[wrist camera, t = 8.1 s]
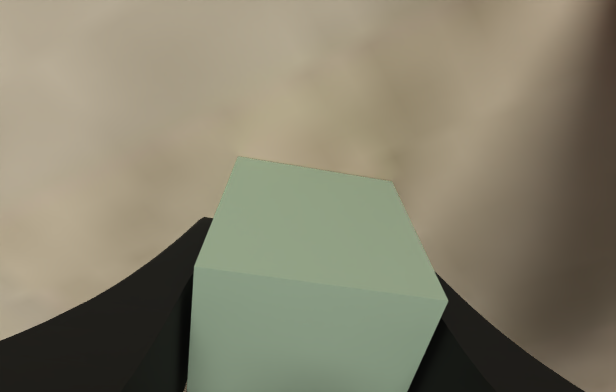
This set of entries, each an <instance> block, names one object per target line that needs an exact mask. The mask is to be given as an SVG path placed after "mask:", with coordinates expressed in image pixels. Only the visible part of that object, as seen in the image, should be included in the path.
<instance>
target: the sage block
mask: <svg viewBox="0 0 616 392" xmlns="http://www.w3.org/2000/svg"><path fill="white" fill-rule="evenodd" d="M447 303H448V299H447V297H446V295H445V293H444V291H443V288H442V286H441V284H440V282H439V280H438V278H437V276H436V274H435V272H434V269H433V267H432V265H431V263H430V261H429V259H428V257H427V255H426V253H425V250H424V248H423V246H422V244H421V242H420V240H419V238H418V236H417V234H416V231H415V229H414V227H413V225H412V223H411V221H410V219H409V217H408V215H407V212H406V210H405V208H404V206H403V204H402V202H401V200H400V198H399V196H398V194H397V191H396V189H395V187H394V185H393V183H392V181H386V180H380V179H374V178H367V177H361V176H355V175H349V174H343V173H337V172H331V171H324V170H318V169H312V168H306V167H300V166H294V165H288V164H281V163H275V162H269V161H263V160H257V159H251V158H245V157H238V158H237V161H236V163H235V166H234V168H233V171H232V173H231V176H230V178H229V181H228V183H227V186H226V188H225V191H224V193H223V196H222V198H221V201H220V203H219V206H218V208H217V211H216V213H215V216H214V218H213V221H212V223H211V226H210V228H209V231H208V233H207V236H206V238H205V241H204V243H203V246H202V248H201V251H200V253H199V256H198V258H197V261H196V263H195V266H194V277H193V294H192V311H191V329H190V346H189V363H188V380H187V392H407V391H408V389H409V387H410V384H411V382H412V380H413V378H414V376H415V373H416V371H417V369H418V367H419V365H420V362H421V360H422V358H423V356H424V354H425V351H426V349H427V347H428V345H429V343H430V340H431V338H432V336H433V334H434V332H435V329H436V327H437V325H438V323H439V320H440V318H441V316H442V314H443V312H444V309H445V307H446V305H447Z"/></svg>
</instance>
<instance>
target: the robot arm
mask: <svg viewBox="0 0 616 392" xmlns="http://www.w3.org/2000/svg"><path fill="white" fill-rule="evenodd" d="M212 221H213V218H207V217H203V218H202V219H200V220H199V221H198V222H197V223H196V224H194V225H193V226H192V227H191V228H190V229H189V230H188V231H187V232H186V233H184V234H183V235H182V236H181V237H180V238H179V239H177V240H176V241H175V242H174V243H173V244H171V245H170V246H169V247H168V248H166V249H165V250H164V251H163V252H161V253H160V254H159V255H158V256H156V257H155V258H154V259H152V260H151V261H150V262H148V263H147V264H145V265H144V266H143V267H141V268H140V269H138V270H137V271H136V272H134V273H133V274H131V275H130V276H129V277H127V278H125V279H124V280H122V281H121V282H119V283H118V284H116V285H115V286H113V287H111V288H110V289H108V290H106V291H105V292H103V293H101V294H99V295H98V296H96V297H94V298H92V299H90V300H89V301H87V302H85V303H83V304H81V305H79V306H76V307H74V308H72V309H70V310H68V311H66V312H64V313H62V314H60V315H58V316H56V317H54V318H52V319H50V320H48V321H46V322H44V323H42V324H39V325H37V326H35V327H32V328H30V329H28V330H25V331H23V332H21V333H19V334H16V335H14V336H11V337H9V338H6V339H4V340H1V341H0V392H183V391H184V388H185V385H186V382H187V379H188V363H189V346H190V329H191V311H192V294H193V277H194V266H195V263H196V261H197V258H198V256H199V253H200V251H201V248H202V246H203V243H204V241H205V238H206V236H207V233H208V231H209V228H210V226H211V223H212ZM434 272H435V271H434ZM435 274H436V276H437V278H438V280H439V282H440V284H441V286H442V288H443V291H444V293H445V295H446V297H447V299H448V303H447V305H446V307H445V309H444V312H443V314H442V316H441V318H440V320H439V323H438V325H437V327H436V329H435V332H434V334H433V336H432V338H431V340H430V343H429V345H428V347H427V349H426V351H425V354H424V356H423V358H422V360H421V362H420V365H419V367H418V369H417V371H416V373H415V376H414V378H413V380H412V382H411V384H410V387H409V389H408V391H407V392H585V391H583V390H581V389H580V388H578V387H577V386H575V385H573V384H572V383H570V382H569V381H567V380H566V379H564V378H563V377H561V376H560V375H559V374H557V373H556V372H554V371H553V370H551V369H550V368H548V367H547V366H545V365H544V364H542V363H541V362H539V361H538V360H537V359H535V358H534V357H532V356H531V355H530V354H528V353H527V352H526V351H524V350H523V349H522V348H520V347H519V346H518V345H517V344H515V343H514V342H513V341H511V340H510V339H509V338H507V337H506V336H505V335H504V334H502V333H501V332H500V331H499V330H498V329H496V328H495V327H494V326H493V325H491V324H490V323H489V322H488V321H487V320H486V319H485V318H483V317H482V316H481V315H480V314H479V313H478V312H477V311H476V310H474V309H473V308H472V307H471V306H470V305H469V304H468V303H467V302H466V301H465V300H464V299H462V298H461V297H460V296H459V295H458V294H457V293H456V292H455V291H454V290H453V289H452V288H451V287H450V286H449V285H448V284H447V283H446V282H445V281H444V280H443V279H442V278H441V277H440V276H439V275H438V274H437V273H436V272H435Z"/></svg>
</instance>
